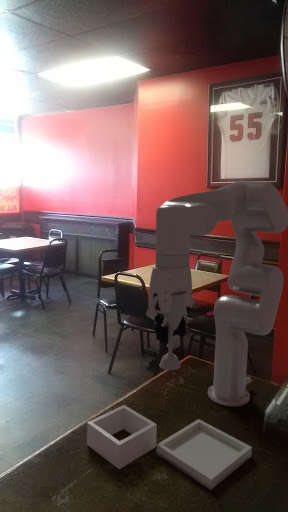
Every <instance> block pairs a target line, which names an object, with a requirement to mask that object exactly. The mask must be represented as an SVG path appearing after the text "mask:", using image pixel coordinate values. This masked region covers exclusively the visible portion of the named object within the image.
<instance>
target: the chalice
mask: <svg viewBox="0 0 288 512" xmlns="http://www.w3.org/2000/svg"><path fill="white" fill-rule="evenodd" d="M186 292H187V291H186ZM185 294H186V293H184V294H181V295H171V296H172V298H173V303H172V308H171V312H169V313H167V317H168V319H167V324H166V325H167V326H168V342H167V345H166V347H167V350H168V352H167V353H165V354H164V355H163V356H162V357H161V359H160V362H159V367H160V369H163V370H166V371H176V370H179V369H180V368H181V367H182V366H181V364H180V360H179V358H178V356H177V355H176V354H174V353H173V348H174V347H175V345H174V343H173V340H174V339H175V338H174V335H173V334H174V333H173V330H176V329H177V327H178V325H179V323H180V321H181V319H182V316H183V314H184V296H185ZM159 310H160V308H159ZM160 311H161V310H160ZM160 316H161V318H162V317H163V314H160Z"/></svg>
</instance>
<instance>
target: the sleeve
mask: <svg viewBox="0 0 288 512" xmlns="http://www.w3.org/2000/svg"><path fill="white" fill-rule="evenodd" d="M157 425H158V424H157V423H155V422H154V421H152V420H151V419H148V417H147V418H146V416H143V415H142V414H140V413H138V412H137V411H135V410H133V409H132V408H130V407H128V406H127V405H125V404H122V405H121V406H119V407H116V408H114V409H113V410H111V411H108V412H106V413H105V414H102V415H100V416H98V417H95V418H93V419H91V420H89V421H87V422H86V426H87V427H86V445H87V446H88V447H89V448H91V449H92V450H93V451H95V452H96V453H97V454H99V456H101V457H102V458H104V459H105V460H106V461H108V462H109V463H111V465H113V466H114V467H115V468H117V469H118V470H120V469H122V468H124V467H126V466H127V465H129V464H130V463H132V462H133V461H136V460H137V459H139V458H140V457H142V456H143V455H145V454H147V453H149V452H150V451H151V450H153V449H154V448H155V449H156V448H157V432H158V431H157V427H158V426H157ZM122 430H124V431H126V432H128V433H130V435H129V436H127V437H125V438H124V439H121V440H118V439H117V438H116V437H114V436H113V435H114V434H115V435H116V433H118V432H121V431H122Z"/></svg>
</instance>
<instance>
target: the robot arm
mask: <svg viewBox="0 0 288 512" xmlns="http://www.w3.org/2000/svg"><path fill="white" fill-rule="evenodd" d="M280 193H281V192H279V191H278V189H277V188H276V187H275V185H274V184H272V183H270V182H268V181H235V182H233V183H229V184H227V185H224V186H221V187H219V188H216V189H212V190H207V191H206V190H204V191H201V192H196V193H190V194H184V195H181V196H176V197H173V198H171V199H168V200H167V201H164V203H162V204H161V205H159V206H158V207H157V209H156V214H155V215H156V216H155V266H153V267H152V269H151V273H150V279H149V280H150V281H149V290H148V308H147V310H146V312H145V314H146V316H147V317H149V318H150V319H151V320H152V322H153V323H154V324H156V327H155V328H156V331H155V333H156V336H155V338H156V340H157V341H159V342H162V343H163V344H168V343H169V341H168V335H169V331H168V326H167V325H166V324H167V319H168V317H167V313H169V312H171V308H172V303H173V298H172V296H171V295H181V294H184V293H186V294H185V296H184V314H183V316H182V319H181V321H180V323H179V325H178V327H177V329H176V330H173V334H174V335H177V336H180V337H185V336H186V320H188V314H189V312H190V311H191V308H192V307H193V306H194V304H195V300H194V297H193V281H192V279H193V278H192V271H191V265H190V258H191V255H190V253H191V252H190V251H191V245H190V244H191V236H196V237H197V236H198V237H199V236H200V237H202V236H207V235H209V234H211V233H212V232H213V231H214V230H215V228H216V227H217V224H218V223H221V222H226V221H229V220H230V223H231V226H232V228H233V233H234V237H235V250H234V253H233V258H232V261H231V265H230V269H229V273H228V277H227V286H228V288H229V289H230V290H232V291H233V292H236V293H240V294H244V295H249V296H254V297H255V296H256V297H260V299H259V300H258V299H252V298H248V297H244V296H239V295H232V294H227V295H226V294H225V295H221V296H220V297H218V298H217V300H216V301H215V303H214V307H213V317H214V323H215V345H214V346H215V347H214V348H215V349H214V365H213V366H214V369H213V385H211V386H209V387H208V389H207V395H208V398H209V399H210V400H211V401H213V402H214V403H216V404H218V405H222V406H225V407H233V408H234V407H241V406H244V405H246V404H248V403H249V401H250V400H251V398H250V392H249V391H248V390H247V389H246V388H247V385H248V384H250V383H251V382H252V378H251V376H247V367H248V350H249V342H248V338H247V336H246V333H250V334H255V335H259V336H266V335H269V334H270V333H271V331H272V330H273V328H274V324H275V322H276V318H277V314H278V309H279V304H280V301H281V296H282V293H283V288H284V274H283V272H282V270H281V269H280V268H279V267H277V266H274V265H272V264H271V265H270V264H263V259H264V255H265V246H264V244H263V242H262V240H261V238H260V236H259V235H258V234H257V233H268V234H269V233H270V234H279V233H282V232H284V231H285V230H286V229H287V227H288V207H287V205H286V203H285V201H284V199H283V197H282V195H281V194H280ZM186 291H187V292H186ZM159 308H160V310H161V311H160V310H159ZM160 314H163V317H162V318H161V316H160ZM245 332H246V333H245Z"/></svg>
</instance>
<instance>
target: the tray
mask: <svg viewBox="0 0 288 512" xmlns="http://www.w3.org/2000/svg"><path fill="white" fill-rule="evenodd" d="M252 450H253V447H252V446H251V445H250V444H247V443H245V442H243V441H241V440H239V439H237V438H236V437H234V436H233V435H230V434H228V433H226V432H224V431H222V430H220V429H219V428H216V427H215V426H212V425H211V424H209V423H206V422H205V421H203V420H201V419H199V418H198V419H196V420H195V421H193V422H191V423H190V424H188V425H187V426H185V427H183V428H182V429H180V430H179V431H177V432H175V433H173V434H172V435H170V436H168V437H167V438H165V439H163V440H162V441H160V442H158V443H156V454H155V455H157V456H158V457H160V458H161V459H163V460H165V461H166V462H168V463H170V464H171V465H173V467H175V468H177V469H178V470H179V471H181V472H183V473H184V474H186V475H187V476H188V477H190V478H192V479H193V480H194V481H196V482H198V483H200V484H201V485H202V486H204V487H205V488H207V489H209V490H210V491H212V490H213V489H215V487H217V486H218V485H219V484H220V483H221V482H222V481H224V480H225V479H226V478H227V477H228V476H230V475H231V474H232V473H233V472H235V471H236V470H237V469H239V467H241V466H242V465H244V463H246V462H247V461H248V460H249V459H250V458H251V457H252V453H253V451H252Z"/></svg>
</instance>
